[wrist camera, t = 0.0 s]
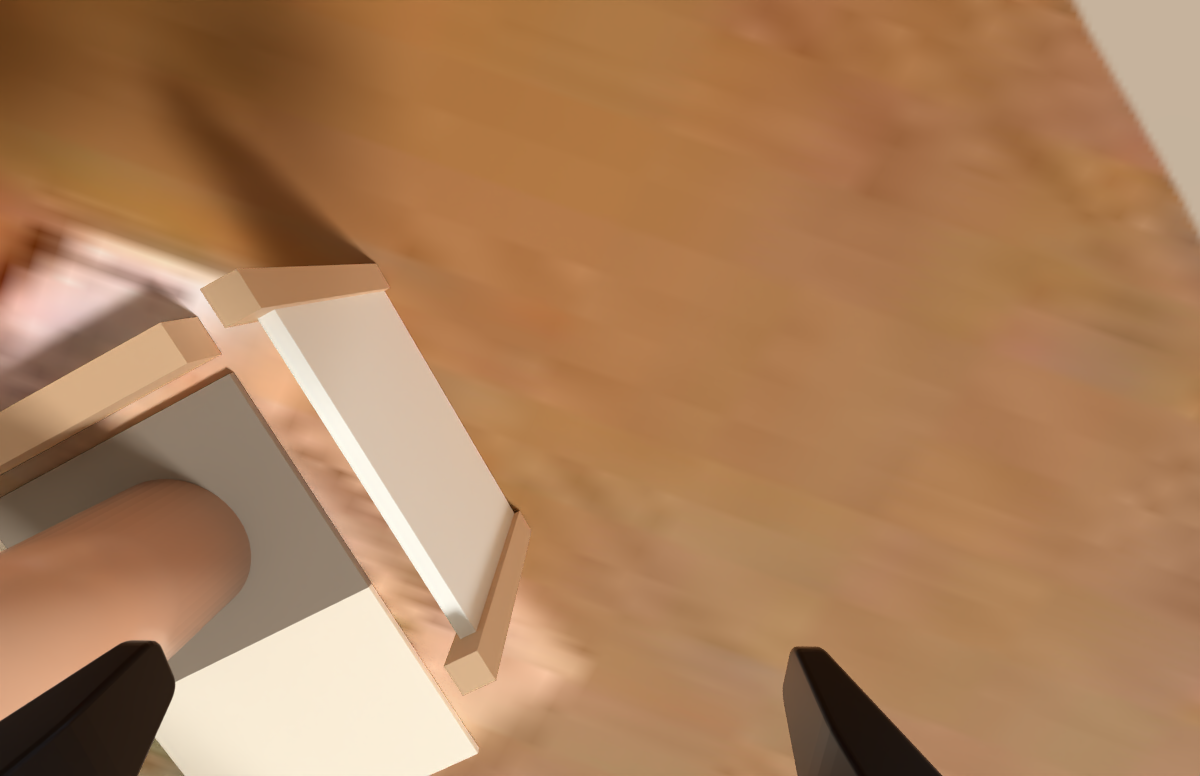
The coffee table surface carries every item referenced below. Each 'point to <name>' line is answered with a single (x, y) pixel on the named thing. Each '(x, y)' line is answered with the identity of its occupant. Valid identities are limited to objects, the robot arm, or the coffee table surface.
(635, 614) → the coffee table surface
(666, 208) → the coffee table surface
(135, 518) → the tan tall round cup
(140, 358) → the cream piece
